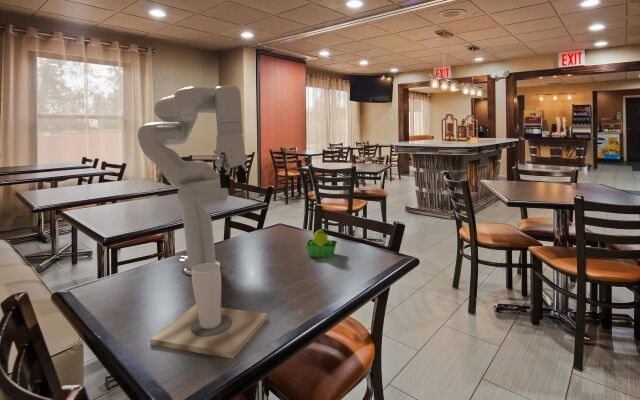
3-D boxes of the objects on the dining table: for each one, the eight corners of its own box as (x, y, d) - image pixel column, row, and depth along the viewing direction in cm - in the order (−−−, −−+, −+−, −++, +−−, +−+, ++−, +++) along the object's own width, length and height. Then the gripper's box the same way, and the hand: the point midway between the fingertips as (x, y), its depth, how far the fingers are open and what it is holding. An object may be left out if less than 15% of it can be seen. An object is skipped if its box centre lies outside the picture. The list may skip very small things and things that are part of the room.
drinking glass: (199, 318, 98) (194, 263, 95) (226, 316, 98) (222, 261, 95) (193, 332, 91) (187, 273, 88) (222, 330, 92) (217, 271, 89)
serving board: (150, 344, 90) (149, 337, 89) (195, 309, 107) (195, 303, 106) (233, 358, 83) (232, 351, 83) (267, 318, 100) (267, 312, 100)
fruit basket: (337, 252, 150) (337, 225, 148) (334, 260, 142) (333, 231, 139) (309, 251, 152) (308, 224, 150) (304, 259, 144) (303, 230, 142)
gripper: (233, 128, 123) (237, 181, 126) (202, 130, 106) (207, 189, 110) (254, 128, 120) (257, 181, 124) (226, 129, 104) (230, 190, 108)
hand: (234, 185), depth 117 cm, fingers open, 9 cm apart
